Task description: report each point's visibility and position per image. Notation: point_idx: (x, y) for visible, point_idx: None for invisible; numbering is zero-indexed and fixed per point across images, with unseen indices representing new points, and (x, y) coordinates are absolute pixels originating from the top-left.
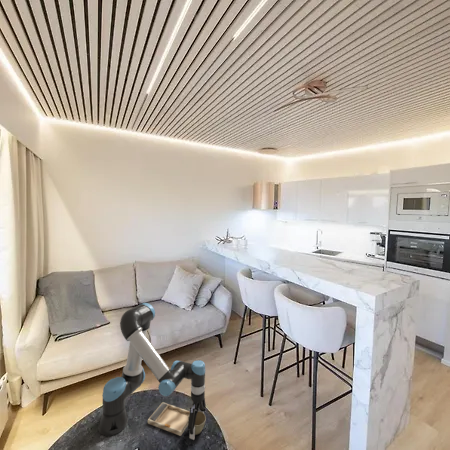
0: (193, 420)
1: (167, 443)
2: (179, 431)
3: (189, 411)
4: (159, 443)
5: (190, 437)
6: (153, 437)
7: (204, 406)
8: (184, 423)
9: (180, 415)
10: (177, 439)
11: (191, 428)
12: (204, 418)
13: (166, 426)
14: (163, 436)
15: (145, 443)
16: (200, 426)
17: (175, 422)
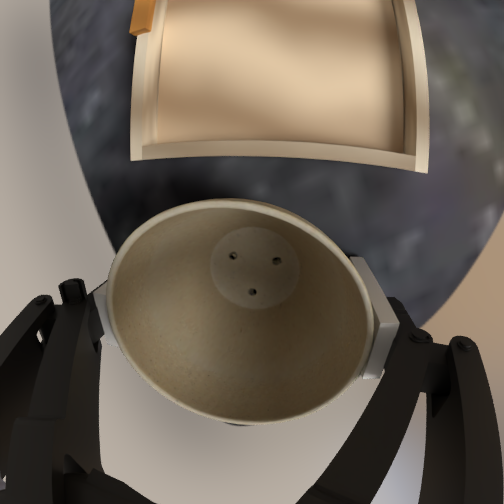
0: (30, 400)
1: (76, 109)
2: (131, 142)
3: (426, 120)
4: (66, 67)
5: None
6: (93, 7)
7: (429, 401)
8: (276, 119)
9: (357, 39)
10: (118, 152)
11: (44, 345)
12: (305, 385)
13: (137, 9)
14: (109, 44)
15: (58, 13)
16: (173, 382)
17: (251, 32)
